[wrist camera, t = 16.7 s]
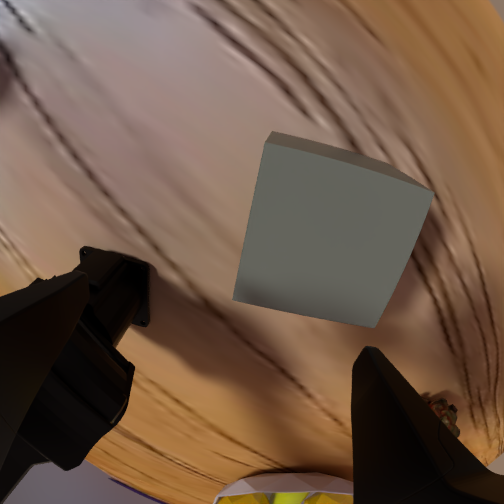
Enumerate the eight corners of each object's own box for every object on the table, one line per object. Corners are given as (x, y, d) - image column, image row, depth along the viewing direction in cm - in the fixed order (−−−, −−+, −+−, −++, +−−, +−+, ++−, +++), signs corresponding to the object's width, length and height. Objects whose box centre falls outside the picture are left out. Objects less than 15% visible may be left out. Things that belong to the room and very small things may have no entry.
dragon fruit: (424, 365, 27) (412, 408, 33) (371, 422, 24) (369, 451, 30) (482, 403, 20) (455, 439, 26) (432, 470, 17) (412, 487, 24)
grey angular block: (352, 265, 20) (374, 328, 14) (248, 241, 20) (232, 300, 14) (387, 163, 17) (434, 192, 11) (272, 131, 17) (264, 142, 11)
